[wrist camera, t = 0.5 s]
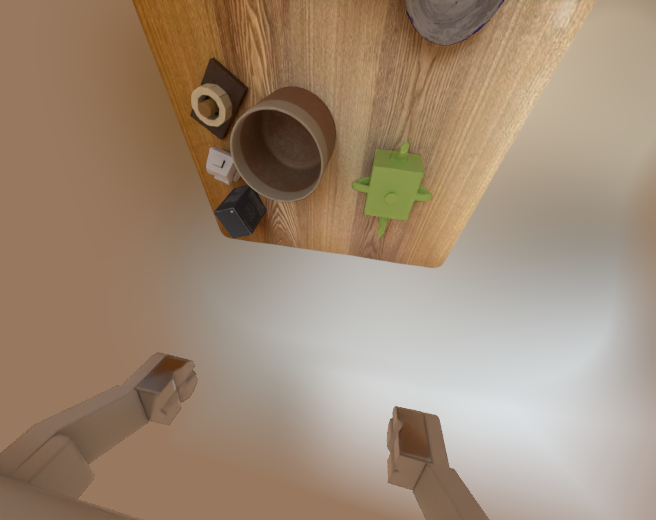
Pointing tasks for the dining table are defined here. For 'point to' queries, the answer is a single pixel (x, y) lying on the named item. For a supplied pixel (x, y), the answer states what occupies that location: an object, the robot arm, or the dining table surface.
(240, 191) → the box
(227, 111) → the tape roll
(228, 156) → the grey boxy gadget
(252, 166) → the planter
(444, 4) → the bowl
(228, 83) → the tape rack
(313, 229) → the dining table surface
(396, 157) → the teapot
